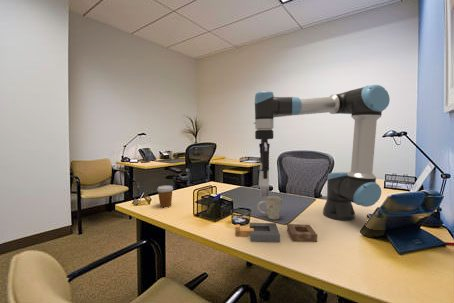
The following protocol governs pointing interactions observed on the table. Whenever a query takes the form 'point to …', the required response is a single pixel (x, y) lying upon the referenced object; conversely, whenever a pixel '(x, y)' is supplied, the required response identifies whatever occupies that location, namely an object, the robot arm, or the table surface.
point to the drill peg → (263, 189)
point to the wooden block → (242, 231)
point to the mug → (272, 207)
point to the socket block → (264, 232)
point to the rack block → (301, 233)
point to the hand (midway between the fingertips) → (264, 184)
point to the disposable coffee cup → (165, 195)
